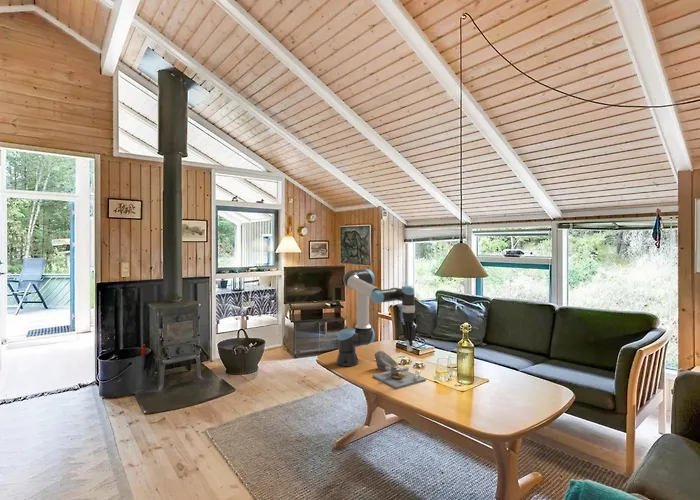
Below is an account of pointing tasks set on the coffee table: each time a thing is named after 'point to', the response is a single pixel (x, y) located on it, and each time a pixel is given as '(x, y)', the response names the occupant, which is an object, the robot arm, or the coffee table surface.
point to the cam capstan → (395, 372)
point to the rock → (384, 360)
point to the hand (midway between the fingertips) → (409, 350)
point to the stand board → (402, 382)
